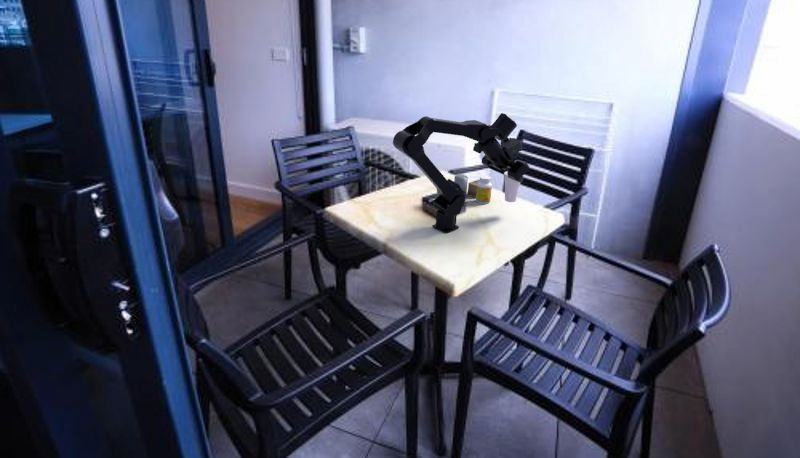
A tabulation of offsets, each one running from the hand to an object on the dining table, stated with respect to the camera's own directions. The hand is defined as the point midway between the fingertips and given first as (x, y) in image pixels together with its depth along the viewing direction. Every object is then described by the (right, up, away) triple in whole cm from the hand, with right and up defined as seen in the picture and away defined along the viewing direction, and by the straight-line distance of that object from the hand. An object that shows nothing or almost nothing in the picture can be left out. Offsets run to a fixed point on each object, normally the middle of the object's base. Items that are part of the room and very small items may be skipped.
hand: (515, 178), depth 162 cm
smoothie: (-1, -7, +3) cm, 8 cm away
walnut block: (-10, -4, +23) cm, 25 cm away
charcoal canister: (-17, -5, +20) cm, 27 cm away
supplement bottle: (-9, -7, +16) cm, 20 cm away
